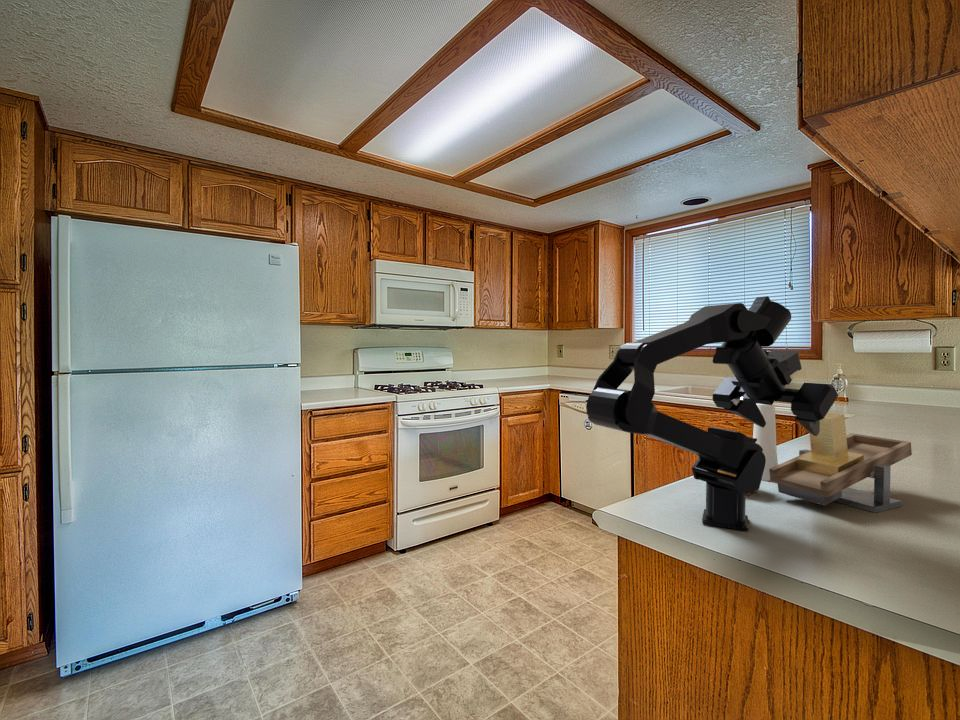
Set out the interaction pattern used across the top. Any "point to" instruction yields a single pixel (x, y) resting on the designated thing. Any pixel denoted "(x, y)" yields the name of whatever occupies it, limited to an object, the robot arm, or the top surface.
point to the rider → (829, 448)
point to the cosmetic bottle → (767, 438)
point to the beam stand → (869, 500)
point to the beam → (831, 487)
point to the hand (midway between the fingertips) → (789, 429)
